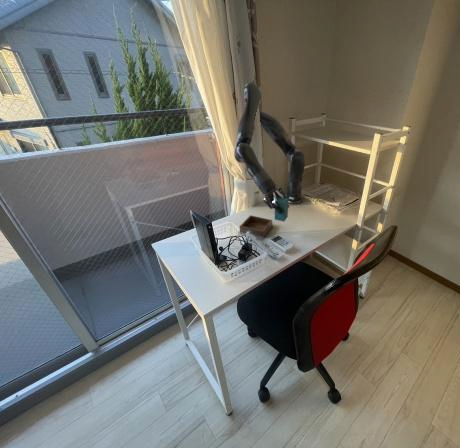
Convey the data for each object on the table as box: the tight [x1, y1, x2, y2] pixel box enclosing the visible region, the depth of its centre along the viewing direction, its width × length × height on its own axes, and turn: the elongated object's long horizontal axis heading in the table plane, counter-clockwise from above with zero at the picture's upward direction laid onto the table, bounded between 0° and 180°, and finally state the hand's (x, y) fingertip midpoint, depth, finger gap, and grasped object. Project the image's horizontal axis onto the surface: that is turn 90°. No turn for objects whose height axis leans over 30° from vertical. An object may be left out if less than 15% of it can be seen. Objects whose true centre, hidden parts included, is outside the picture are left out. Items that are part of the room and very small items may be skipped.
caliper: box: [245, 230, 276, 258], centre depth 115 cm, size 20×1×6 cm, turn 46°
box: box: [239, 215, 273, 239], centre depth 129 cm, size 12×13×4 cm
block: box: [274, 196, 289, 222], centre depth 118 cm, size 5×5×10 cm
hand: (284, 210), depth 117 cm, fingers closed on block, 5 cm apart
